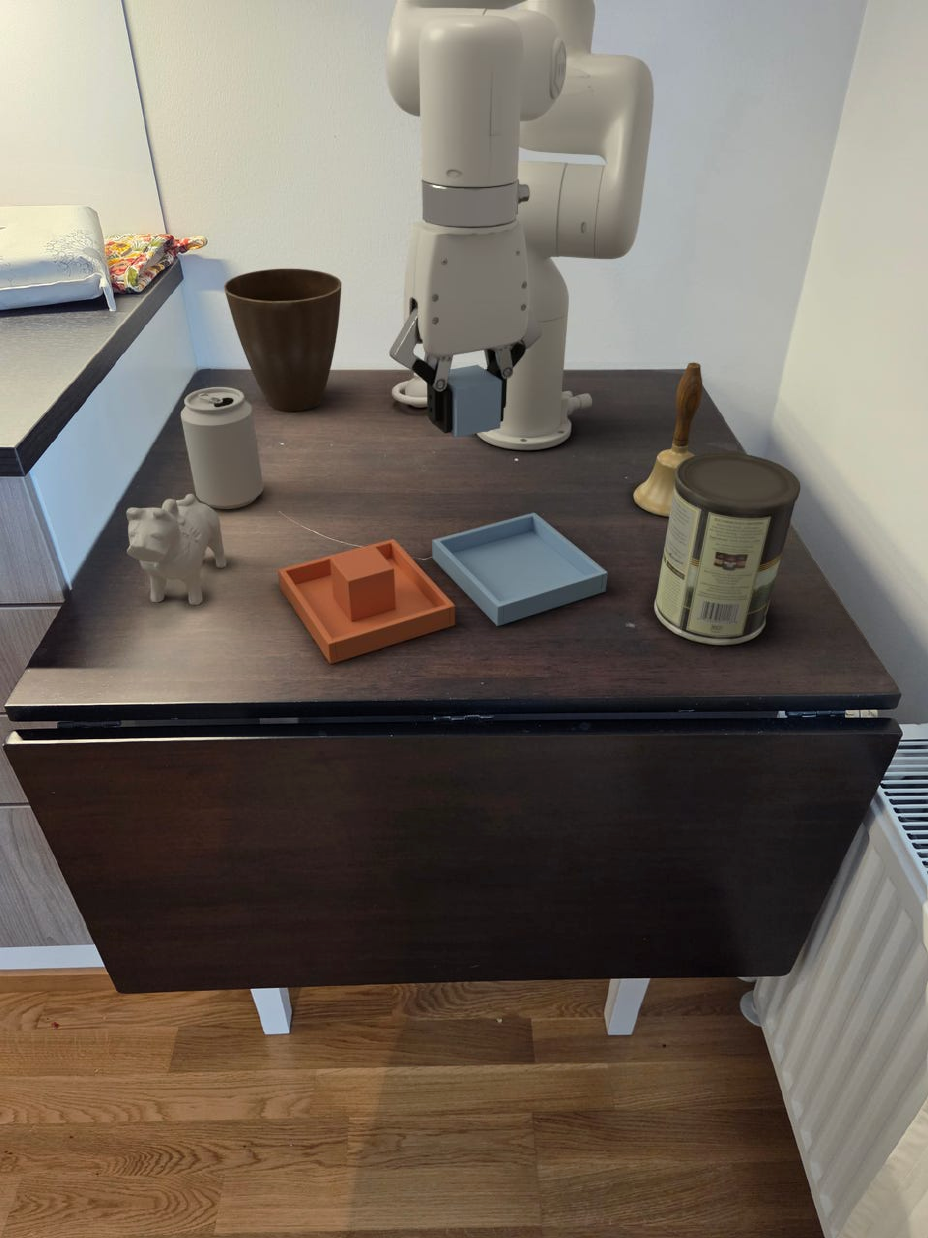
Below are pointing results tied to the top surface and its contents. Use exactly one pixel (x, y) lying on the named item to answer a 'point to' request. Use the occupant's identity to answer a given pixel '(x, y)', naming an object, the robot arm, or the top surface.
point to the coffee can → (724, 546)
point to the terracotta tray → (344, 639)
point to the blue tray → (518, 568)
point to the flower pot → (287, 331)
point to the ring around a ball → (412, 392)
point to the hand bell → (661, 481)
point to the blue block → (474, 400)
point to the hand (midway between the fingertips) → (467, 420)
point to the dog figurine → (175, 543)
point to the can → (222, 447)
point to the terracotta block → (363, 583)
